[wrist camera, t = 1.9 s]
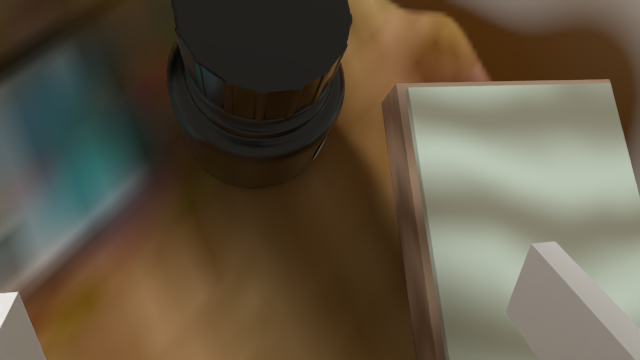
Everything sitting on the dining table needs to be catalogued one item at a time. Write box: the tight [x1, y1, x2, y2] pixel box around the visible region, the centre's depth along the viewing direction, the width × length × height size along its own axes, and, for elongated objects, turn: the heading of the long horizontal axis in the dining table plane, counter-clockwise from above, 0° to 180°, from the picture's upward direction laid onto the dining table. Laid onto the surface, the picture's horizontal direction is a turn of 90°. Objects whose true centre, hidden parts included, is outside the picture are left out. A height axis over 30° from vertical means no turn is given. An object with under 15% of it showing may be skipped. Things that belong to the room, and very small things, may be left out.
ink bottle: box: [167, 0, 352, 188], centre depth 23 cm, size 10×9×12 cm
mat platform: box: [382, 79, 640, 360], centre depth 28 cm, size 18×15×4 cm
